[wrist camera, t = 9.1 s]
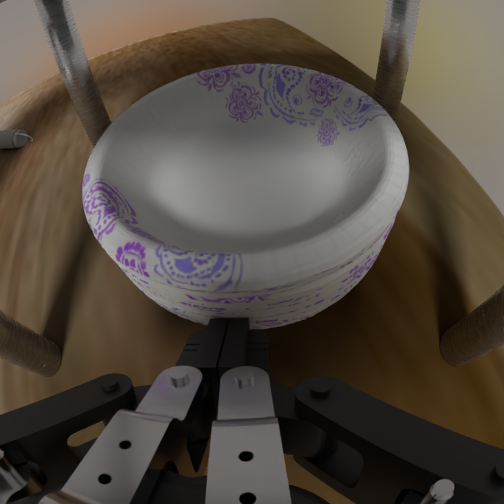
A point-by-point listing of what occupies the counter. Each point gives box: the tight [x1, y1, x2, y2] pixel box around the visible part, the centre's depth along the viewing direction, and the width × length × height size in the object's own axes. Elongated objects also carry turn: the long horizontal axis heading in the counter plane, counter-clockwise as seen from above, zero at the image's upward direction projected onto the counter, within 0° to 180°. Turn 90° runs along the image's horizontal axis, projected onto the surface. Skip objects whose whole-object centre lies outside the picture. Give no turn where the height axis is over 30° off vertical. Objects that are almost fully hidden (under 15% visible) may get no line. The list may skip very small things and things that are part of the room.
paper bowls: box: [82, 63, 409, 330], centre depth 16 cm, size 15×15×8 cm
